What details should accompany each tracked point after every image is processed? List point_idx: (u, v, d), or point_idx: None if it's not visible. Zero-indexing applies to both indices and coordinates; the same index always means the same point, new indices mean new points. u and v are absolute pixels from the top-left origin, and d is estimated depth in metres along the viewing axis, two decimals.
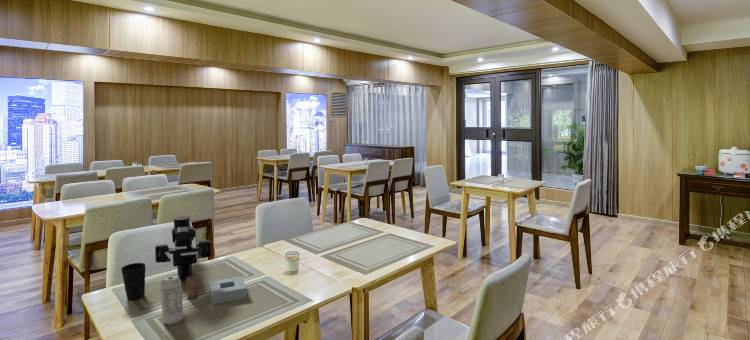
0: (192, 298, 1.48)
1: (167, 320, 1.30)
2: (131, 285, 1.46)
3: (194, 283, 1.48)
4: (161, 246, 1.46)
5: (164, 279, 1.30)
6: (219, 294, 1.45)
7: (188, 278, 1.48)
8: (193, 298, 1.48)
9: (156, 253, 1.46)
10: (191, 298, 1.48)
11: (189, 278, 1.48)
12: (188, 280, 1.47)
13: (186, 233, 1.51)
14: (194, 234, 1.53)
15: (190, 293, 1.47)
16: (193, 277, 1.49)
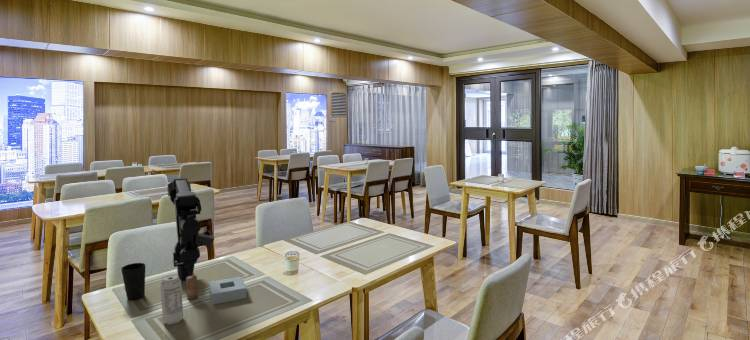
0: (192, 298, 1.48)
1: (167, 320, 1.30)
2: (131, 285, 1.46)
3: (194, 283, 1.48)
4: None
5: (164, 279, 1.29)
6: (219, 294, 1.45)
7: (188, 278, 1.48)
8: (193, 298, 1.48)
9: None
10: (191, 298, 1.48)
11: (189, 278, 1.48)
12: (188, 280, 1.47)
13: None
14: None
15: (190, 293, 1.47)
16: (193, 277, 1.49)
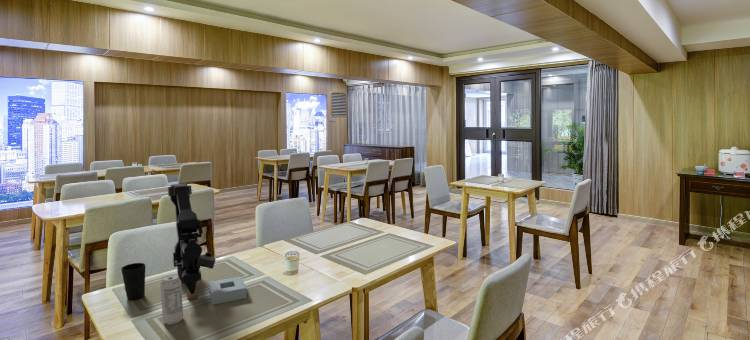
0: (192, 298, 1.48)
1: (167, 320, 1.30)
2: (131, 285, 1.46)
3: None
4: None
5: (164, 279, 1.30)
6: (219, 294, 1.45)
7: None
8: (193, 298, 1.48)
9: None
10: (191, 298, 1.48)
11: None
12: None
13: None
14: None
15: (190, 293, 1.47)
16: None
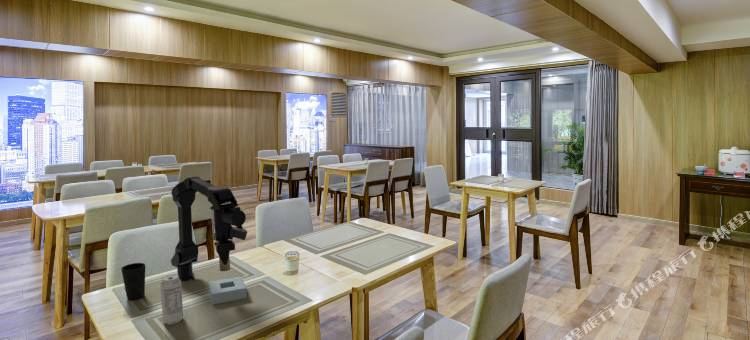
0: (225, 269, 1.49)
1: (167, 320, 1.30)
2: (131, 285, 1.46)
3: None
4: None
5: (164, 279, 1.30)
6: (219, 294, 1.45)
7: None
8: (226, 269, 1.49)
9: None
10: (224, 269, 1.49)
11: None
12: None
13: None
14: None
15: (222, 264, 1.48)
16: None
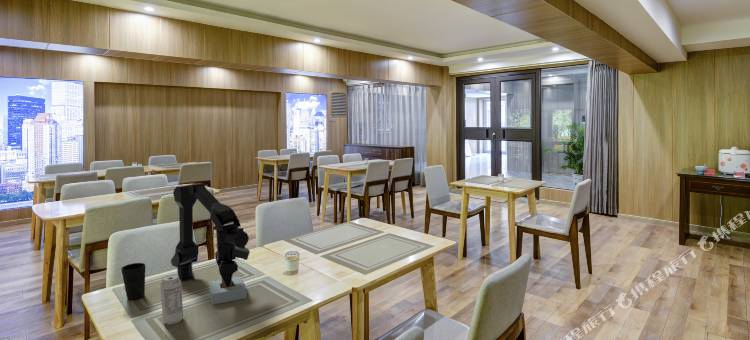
0: None
1: (167, 320, 1.30)
2: (131, 285, 1.46)
3: None
4: None
5: (164, 279, 1.30)
6: (219, 294, 1.45)
7: None
8: None
9: None
10: None
11: None
12: None
13: None
14: None
15: None
16: None
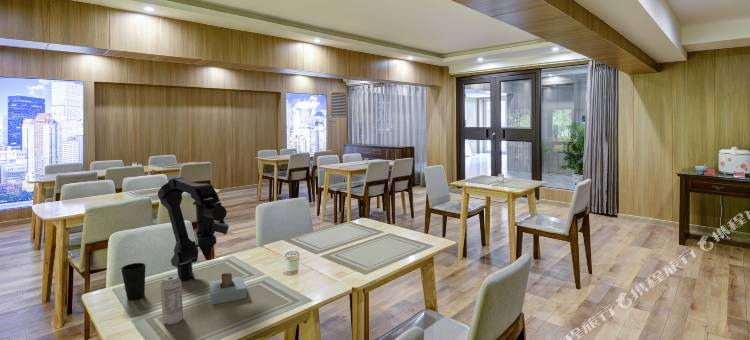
0: None
1: (167, 320, 1.30)
2: (131, 285, 1.46)
3: (230, 280, 1.50)
4: None
5: (164, 279, 1.30)
6: (219, 294, 1.45)
7: (223, 275, 1.50)
8: None
9: None
10: None
11: (224, 275, 1.50)
12: (224, 277, 1.49)
13: None
14: None
15: None
16: (228, 274, 1.51)
